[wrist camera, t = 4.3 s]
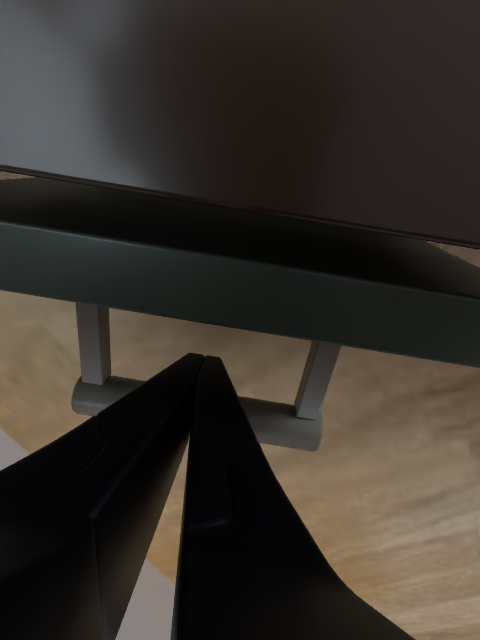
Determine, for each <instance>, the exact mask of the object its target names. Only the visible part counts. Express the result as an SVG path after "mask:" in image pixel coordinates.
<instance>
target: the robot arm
mask: <svg viewBox="0 0 480 640" xmlns="http://www.w3.org/2000/svg"><path fill="white" fill-rule="evenodd" d="M189 437H190V440H189ZM188 440H189V450H188V460H187V471H186V481H185V492H184V502H183V513H182V523H181V534H180V545H179V555H178V566H177V576H176V587H175V597H174V608H173V618H172V629H171V640H415V639H414V638H413V637H411V636H410V635H409V634H407V633H406V632H405V631H403V630H402V629H401V628H399V627H398V626H397V625H395V624H394V623H393V622H391V621H390V620H389V619H387V618H386V617H385V616H383V615H382V614H381V613H379V612H378V611H377V610H375V609H374V608H373V607H371V606H370V605H369V604H367V603H366V602H365V601H363V600H362V599H361V598H360V597H358V596H357V595H356V594H355V593H354V592H353V591H352V590H351V589H349V588H348V587H347V586H346V584H345V583H344V582H343V581H342V580H341V579H340V578H339V576H338V575H337V574H336V573H335V571H334V570H333V569H332V567H331V566H330V565H329V563H328V562H327V560H326V559H325V557H324V555H323V554H322V552H321V551H320V549H319V547H318V546H317V544H316V543H315V541H314V539H313V538H312V536H311V535H310V533H309V531H308V530H307V528H306V526H305V525H304V523H303V522H302V520H301V518H300V517H299V515H298V514H297V512H296V510H295V509H294V507H293V505H292V504H291V502H290V501H289V499H288V497H287V496H286V494H285V492H284V491H283V489H282V487H281V485H280V484H279V482H278V480H277V479H276V477H275V475H274V473H273V471H272V469H271V467H270V465H269V463H268V461H267V459H266V457H265V455H264V453H263V451H262V448H261V446H260V444H259V442H258V440H257V438H256V435H255V433H254V431H253V429H252V426H251V424H250V422H249V420H248V418H247V415H246V413H245V411H244V409H243V406H242V404H241V402H240V400H239V398H238V395H237V393H236V391H235V389H234V386H233V384H232V382H231V380H230V377H229V375H228V373H227V371H226V369H225V366H224V364H223V362H222V360H221V358H220V357H214V356H205V357H204V355H202V354H196V353H188V354H187V355H185V356H184V357H182V358H181V359H179V360H178V361H176V362H175V363H173V364H171V365H170V366H168V367H167V368H165V369H164V370H162V371H161V372H159V373H158V374H156V375H155V376H153V377H152V378H150V379H149V380H147V381H146V382H144V383H143V384H141V385H140V386H138V387H137V388H135V389H134V390H132V391H131V392H129V393H128V394H126V395H125V396H123V397H122V398H120V399H119V400H117V401H116V402H114V403H113V404H111V405H110V406H108V407H107V408H105V409H104V410H102V411H101V412H99V413H98V414H97V416H93V417H91V418H90V419H88V420H87V421H85V422H84V423H82V424H81V425H79V426H78V427H76V428H74V429H73V430H71V431H70V432H68V433H66V434H65V435H63V436H62V437H60V438H58V439H57V440H55V441H53V442H51V443H50V444H48V445H46V446H44V447H43V448H41V449H39V450H37V451H36V452H34V453H32V454H30V455H29V456H27V457H25V458H23V459H21V460H19V461H17V462H16V463H14V464H12V465H10V466H8V467H6V468H5V469H3V470H1V471H0V640H115V639H116V636H117V633H118V631H119V628H120V625H121V622H122V620H123V617H124V614H125V612H126V609H127V606H128V603H129V601H130V598H131V595H132V593H133V590H134V587H135V584H136V582H137V579H138V576H139V574H140V571H141V568H142V566H143V563H144V560H145V557H146V555H147V552H148V549H149V547H150V544H151V541H152V538H153V536H154V533H155V530H156V528H157V525H158V522H159V519H160V517H161V514H162V511H163V509H164V506H165V503H166V500H167V498H168V495H169V492H170V490H171V487H172V484H173V482H174V479H175V476H176V473H177V471H178V468H179V465H180V463H181V460H182V457H183V454H184V452H185V449H186V446H187V443H188Z"/></svg>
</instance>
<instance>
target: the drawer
mask: <svg viewBox="0 0 480 640" xmlns="http://www.w3.org/2000/svg"><path fill="white" fill-rule="evenodd" d="M0 290H4V291H10V292H16V293H22V294H28V295H34V296H40V297H47V298H53V299H59V300H65V301H71V302H76V314H77V326H78V338H79V349H80V361H81V373H82V375H81V377H80V378H79V379H78V381H77V383H76V385H75V388H74V391H73V395H72V409H73V411H74V412H76V413H78V414H84V415H90V416H97V414H98V413H99V412H101V411H102V410H104V409H105V408H107V407H108V406H110V405H111V404H113V403H114V402H116V401H117V400H119V399H120V398H122V397H123V396H125V395H126V394H128V393H129V392H131V391H132V390H134V389H135V388H137V387H138V386H140V385H141V384H143V383H144V382H146V381H142V380H136V379H129V378H123V377H117V376H111V375H110V374H111V356H110V327H109V308H114V309H120V310H127V311H133V312H139V313H145V314H151V315H157V316H163V317H170V318H176V319H182V320H188V321H194V322H200V323H207V324H213V325H219V326H225V327H231V328H237V329H243V330H250V331H256V332H262V333H268V334H274V335H280V336H287V337H293V338H299V339H305V340H311V341H312V343H311V347H310V350H309V354H308V357H307V361H306V364H305V368H304V371H303V375H302V378H301V382H300V386H299V389H298V393H297V396H296V400H295V405H290V404H284V403H278V402H272V401H266V400H259V399H253V398H247V397H241V396H238V398H239V400H240V402H241V404H242V406H243V409H244V411H245V413H246V415H247V418H248V420H249V422H250V424H251V426H252V429H253V431H254V433H255V435H256V438H257V440H258V442H259V443H263V444H270V445H276V446H282V447H288V448H295V449H301V450H307V451H316V450H317V449H318V447H319V445H320V442H321V437H322V416H321V413H320V409H321V405H322V402H323V399H324V396H325V393H326V390H327V387H328V384H329V381H330V378H331V375H332V372H333V369H334V366H335V363H336V360H337V357H338V354H339V351H340V348H341V345H342V346H348V347H354V348H360V349H366V350H373V351H379V352H385V353H391V354H397V355H403V356H410V357H416V358H422V359H428V360H434V361H440V362H446V363H453V364H459V365H465V366H471V367H477V368H480V268H479V267H477V266H475V265H473V264H471V263H469V262H467V261H465V260H463V259H461V258H459V257H457V256H455V255H452V254H450V253H448V252H446V251H444V250H442V249H440V248H438V247H436V246H434V245H432V244H430V243H428V242H426V241H424V240H419V239H413V238H406V237H400V236H394V235H388V234H382V233H376V232H370V231H364V230H358V229H352V228H346V227H339V226H333V225H327V224H321V223H315V222H309V221H303V220H297V219H291V218H285V217H278V216H272V215H266V214H260V213H254V212H248V211H242V210H236V209H230V208H224V207H218V206H211V205H205V204H199V203H193V202H187V201H181V200H175V199H169V198H163V197H157V196H150V195H144V194H138V193H132V192H126V191H120V190H114V189H108V188H102V187H96V186H90V185H83V184H77V183H71V182H65V181H59V180H53V179H47V178H41V177H36V178H21V179H7V180H0Z"/></svg>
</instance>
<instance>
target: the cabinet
mask: <svg viewBox="0 0 480 640" xmlns="http://www.w3.org/2000/svg"><path fill="white" fill-rule="evenodd" d="M0 171H4V172H10V173H16V174H22V175H29V176H35V177H41V178H47V179H53V180H59V181H65V182H71V183H77V184H83V185H90V186H96V187H102V188H108V189H114V190H120V191H126V192H132V193H138V194H144V195H150V196H157V197H163V198H169V199H175V200H181V201H187V202H193V203H199V204H205V205H211V206H218V207H224V208H230V209H236V210H242V211H248V212H254V213H260V214H266V215H272V216H278V217H285V218H291V219H297V220H303V221H309V222H315V223H321V224H327V225H333V226H339V227H346V228H352V229H358V230H364V231H370V232H376V233H382V234H388V235H394V236H400V237H406V238H413V239H419V240H425V241H431V242H437V243H443V244H449V245H455V246H461V247H467V248H474V249H480V0H0Z"/></svg>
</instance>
